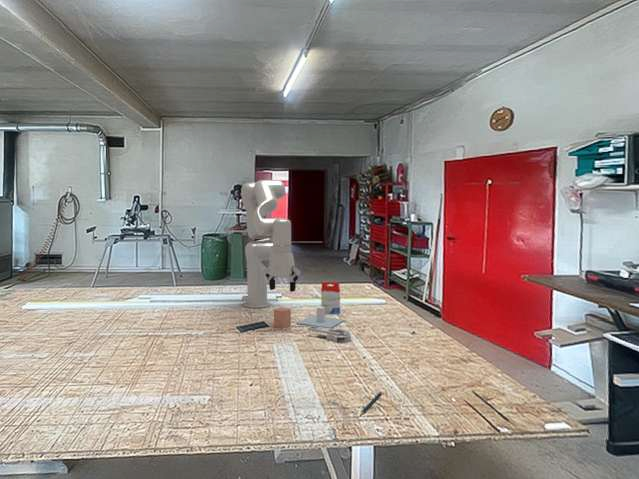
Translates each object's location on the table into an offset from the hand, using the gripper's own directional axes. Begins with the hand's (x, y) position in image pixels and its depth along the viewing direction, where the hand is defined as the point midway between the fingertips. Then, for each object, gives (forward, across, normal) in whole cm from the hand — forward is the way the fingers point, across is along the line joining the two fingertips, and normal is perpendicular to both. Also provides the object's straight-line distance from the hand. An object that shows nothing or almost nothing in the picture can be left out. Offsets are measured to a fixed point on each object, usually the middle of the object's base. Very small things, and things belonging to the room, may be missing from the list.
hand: (282, 290), depth 203 cm
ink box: (+15, +7, +30) cm, 35 cm away
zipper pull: (+16, +24, -6) cm, 29 cm away
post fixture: (+15, +11, +12) cm, 23 cm away
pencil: (+17, +60, -54) cm, 83 cm away
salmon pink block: (+15, -1, 0) cm, 15 cm away
